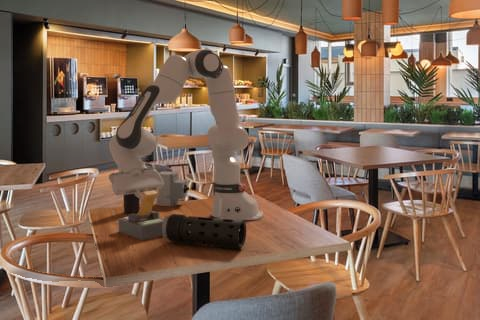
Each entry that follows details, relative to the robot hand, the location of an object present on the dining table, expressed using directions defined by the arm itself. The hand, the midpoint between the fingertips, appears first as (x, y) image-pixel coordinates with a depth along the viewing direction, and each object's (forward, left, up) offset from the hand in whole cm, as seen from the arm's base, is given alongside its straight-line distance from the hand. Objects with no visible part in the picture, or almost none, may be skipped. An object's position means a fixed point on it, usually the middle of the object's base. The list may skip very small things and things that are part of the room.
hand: (145, 200), depth 190 cm
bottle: (+21, -30, -13) cm, 39 cm away
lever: (+2, -1, -6) cm, 7 cm away
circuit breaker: (+9, -50, -13) cm, 53 cm away
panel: (+2, -1, -13) cm, 13 cm away
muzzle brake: (-25, +9, -13) cm, 30 cm away
